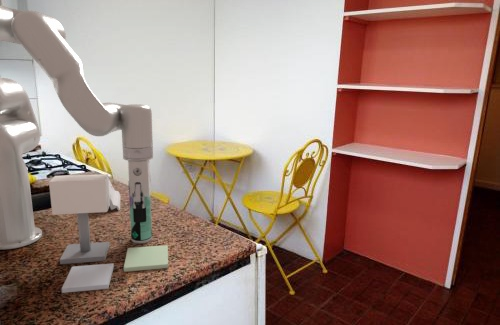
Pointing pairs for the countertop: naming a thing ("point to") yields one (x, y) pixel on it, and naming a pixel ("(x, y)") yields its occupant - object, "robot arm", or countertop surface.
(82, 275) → the grey square tile
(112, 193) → the white bevelled plastic case
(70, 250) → the mounted unit
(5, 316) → the countertop surface
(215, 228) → the countertop surface
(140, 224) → the spray can
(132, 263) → the green tile
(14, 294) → the countertop surface
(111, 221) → the countertop surface
